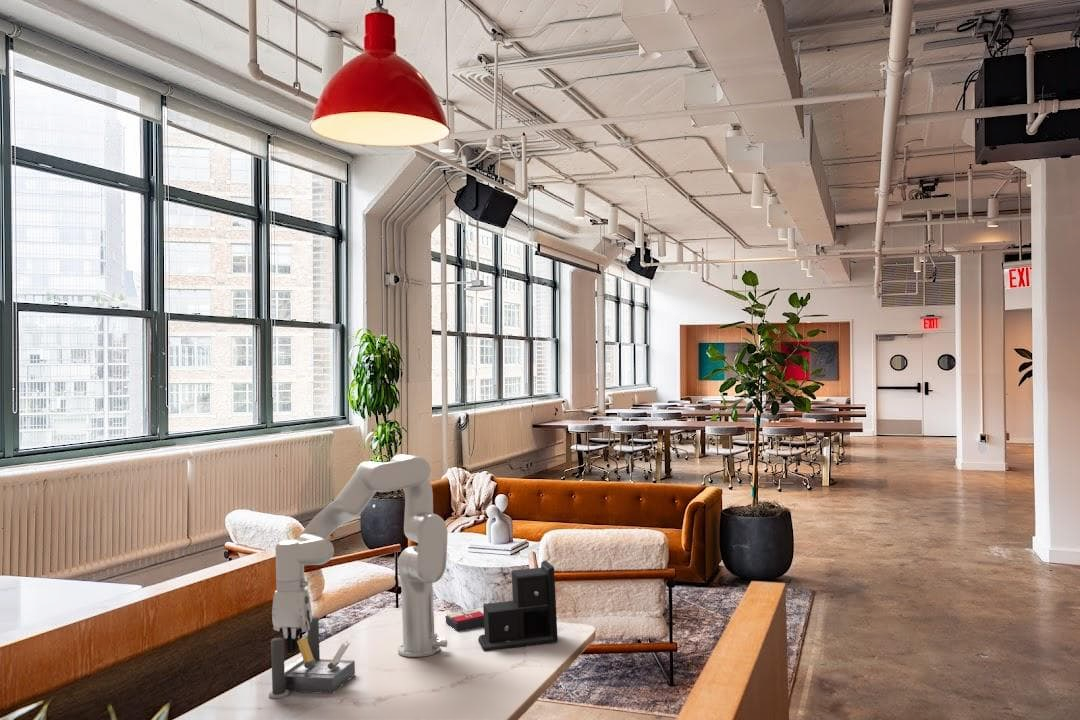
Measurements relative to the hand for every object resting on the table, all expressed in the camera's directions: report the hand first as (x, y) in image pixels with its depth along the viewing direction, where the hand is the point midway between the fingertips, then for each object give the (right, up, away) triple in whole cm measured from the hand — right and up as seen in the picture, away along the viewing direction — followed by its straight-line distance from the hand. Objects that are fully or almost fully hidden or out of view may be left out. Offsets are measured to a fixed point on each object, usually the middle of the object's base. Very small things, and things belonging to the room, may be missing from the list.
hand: (292, 651), depth 236 cm
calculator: (+46, -8, +49) cm, 68 cm away
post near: (-1, -8, -10) cm, 13 cm away
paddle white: (+12, -3, -3) cm, 13 cm away
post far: (+4, -8, +9) cm, 13 cm away
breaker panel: (+7, -8, -2) cm, 11 cm away
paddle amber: (+5, -3, -1) cm, 6 cm away
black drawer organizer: (+62, -7, +28) cm, 68 cm away
